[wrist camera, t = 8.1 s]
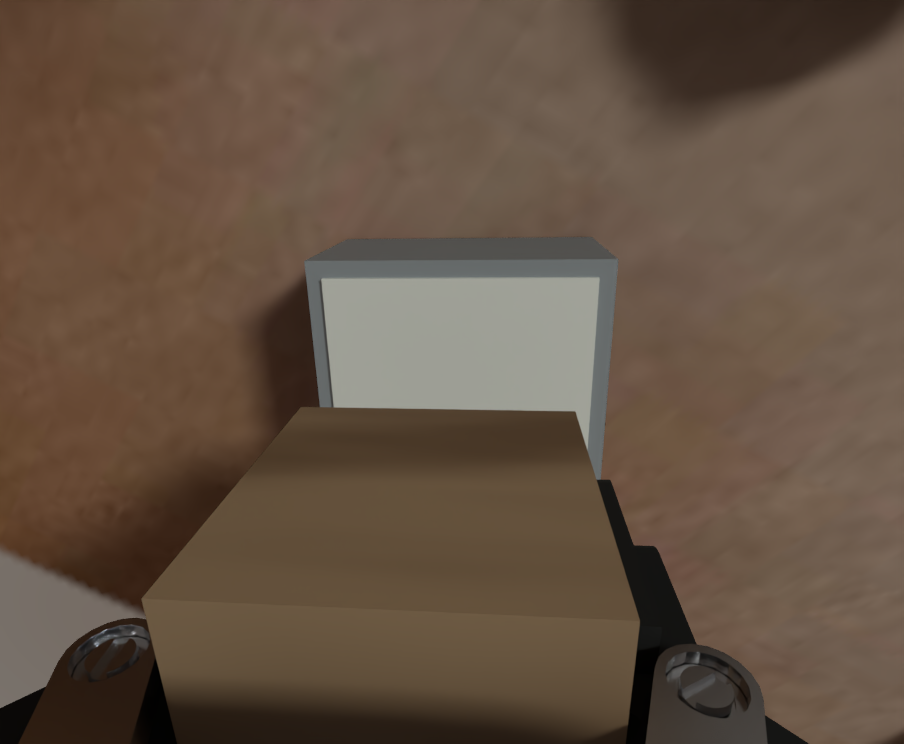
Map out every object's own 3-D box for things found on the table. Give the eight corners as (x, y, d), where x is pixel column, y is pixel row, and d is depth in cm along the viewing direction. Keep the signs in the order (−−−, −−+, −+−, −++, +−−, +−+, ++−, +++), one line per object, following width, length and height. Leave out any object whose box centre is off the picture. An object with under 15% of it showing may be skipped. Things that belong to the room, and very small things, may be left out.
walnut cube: (300, 406, 12) (141, 598, 6) (575, 411, 11) (640, 621, 6) (325, 622, 13) (217, 904, 8) (561, 632, 13) (602, 938, 8)
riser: (347, 239, 21) (302, 261, 17) (591, 237, 21) (619, 260, 16) (364, 453, 24) (331, 524, 20) (577, 457, 24) (596, 533, 19)
